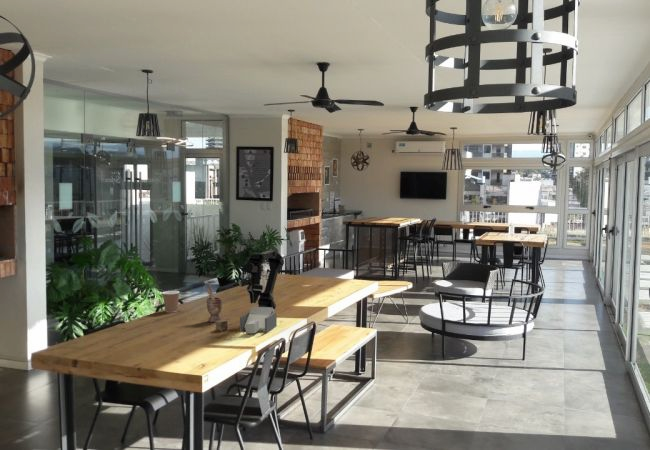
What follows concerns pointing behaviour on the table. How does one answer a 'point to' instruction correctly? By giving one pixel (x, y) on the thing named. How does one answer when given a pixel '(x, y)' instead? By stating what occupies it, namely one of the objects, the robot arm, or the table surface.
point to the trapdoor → (259, 315)
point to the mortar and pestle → (213, 306)
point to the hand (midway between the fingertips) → (252, 303)
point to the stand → (221, 325)
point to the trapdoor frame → (269, 322)
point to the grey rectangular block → (252, 327)
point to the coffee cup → (171, 300)
